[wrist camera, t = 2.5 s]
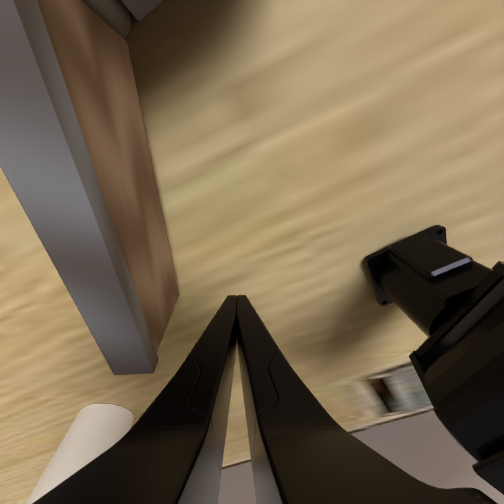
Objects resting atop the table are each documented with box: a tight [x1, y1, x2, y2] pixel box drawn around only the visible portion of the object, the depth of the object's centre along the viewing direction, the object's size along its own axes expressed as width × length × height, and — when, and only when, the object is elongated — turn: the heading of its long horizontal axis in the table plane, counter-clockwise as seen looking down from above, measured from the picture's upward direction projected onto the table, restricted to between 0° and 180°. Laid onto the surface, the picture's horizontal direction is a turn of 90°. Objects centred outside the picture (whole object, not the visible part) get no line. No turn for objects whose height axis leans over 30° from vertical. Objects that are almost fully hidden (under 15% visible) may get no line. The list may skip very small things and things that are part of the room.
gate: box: [0, 0, 179, 375], centre depth 11 cm, size 16×2×7 cm, turn 179°
